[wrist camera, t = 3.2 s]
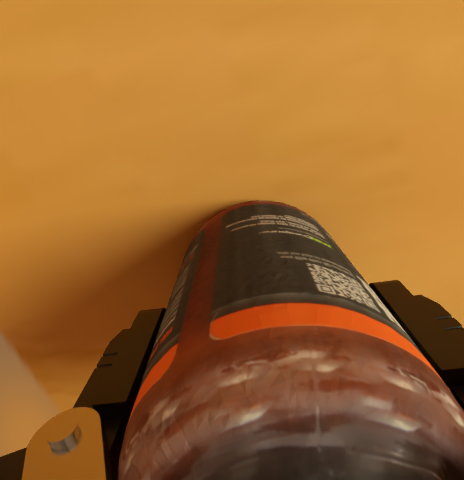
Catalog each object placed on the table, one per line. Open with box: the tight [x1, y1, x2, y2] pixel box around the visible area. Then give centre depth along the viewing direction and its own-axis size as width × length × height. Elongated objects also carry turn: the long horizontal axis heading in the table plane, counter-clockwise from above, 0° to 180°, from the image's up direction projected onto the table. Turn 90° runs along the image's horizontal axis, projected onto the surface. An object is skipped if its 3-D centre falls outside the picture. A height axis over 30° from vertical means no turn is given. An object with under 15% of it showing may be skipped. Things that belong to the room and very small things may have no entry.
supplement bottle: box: [118, 201, 464, 480], centre depth 8 cm, size 6×6×11 cm
